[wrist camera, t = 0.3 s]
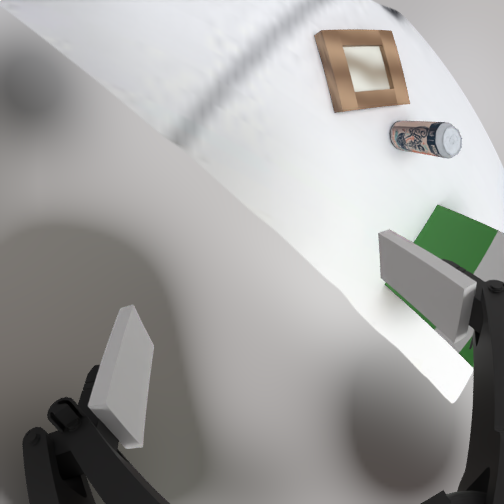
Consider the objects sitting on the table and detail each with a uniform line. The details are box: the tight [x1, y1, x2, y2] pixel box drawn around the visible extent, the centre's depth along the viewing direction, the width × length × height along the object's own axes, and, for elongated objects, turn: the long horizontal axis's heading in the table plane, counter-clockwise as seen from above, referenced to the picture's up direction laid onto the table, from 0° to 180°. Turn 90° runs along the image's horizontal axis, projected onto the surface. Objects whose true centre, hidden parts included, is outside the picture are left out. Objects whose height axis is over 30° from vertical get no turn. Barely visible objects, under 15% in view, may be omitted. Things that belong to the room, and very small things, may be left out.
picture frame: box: [314, 30, 410, 113], centre depth 35 cm, size 12×12×3 cm
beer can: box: [391, 121, 462, 158], centre depth 36 cm, size 5×5×12 cm
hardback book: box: [385, 205, 504, 367], centre depth 39 cm, size 18×7×24 cm, turn 146°
